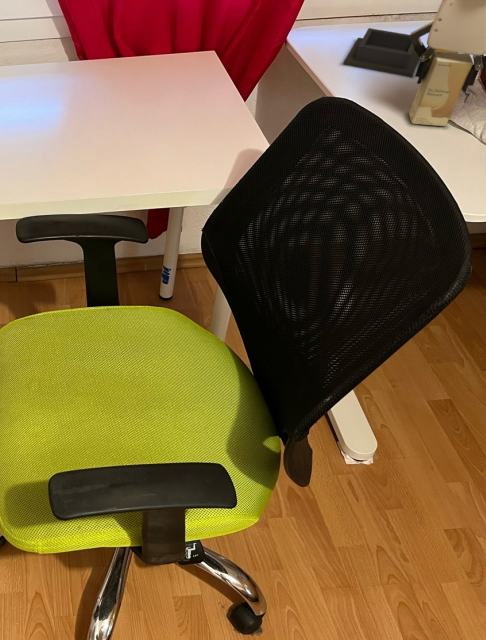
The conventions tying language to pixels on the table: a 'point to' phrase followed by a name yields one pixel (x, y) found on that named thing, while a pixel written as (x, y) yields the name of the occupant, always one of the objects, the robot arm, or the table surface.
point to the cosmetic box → (440, 88)
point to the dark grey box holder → (384, 53)
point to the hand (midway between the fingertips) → (442, 83)
